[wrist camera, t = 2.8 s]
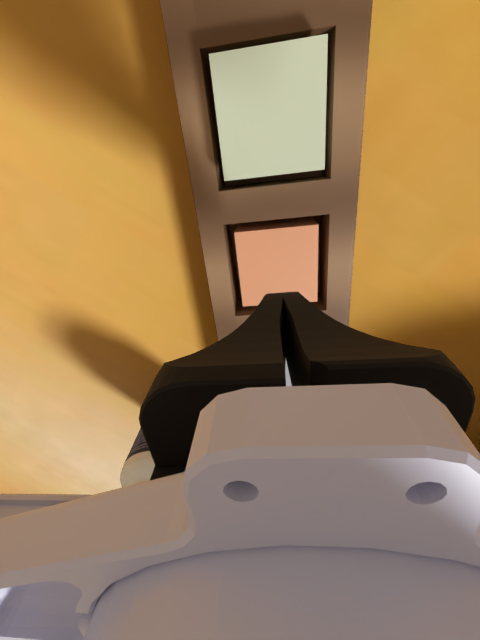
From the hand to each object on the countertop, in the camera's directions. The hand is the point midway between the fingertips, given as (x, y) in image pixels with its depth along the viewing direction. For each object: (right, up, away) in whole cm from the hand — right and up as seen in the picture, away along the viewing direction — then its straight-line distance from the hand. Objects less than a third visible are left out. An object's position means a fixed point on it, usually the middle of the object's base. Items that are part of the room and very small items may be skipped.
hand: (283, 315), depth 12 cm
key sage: (0, +9, +2) cm, 10 cm away
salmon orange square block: (+1, +4, +7) cm, 8 cm away
